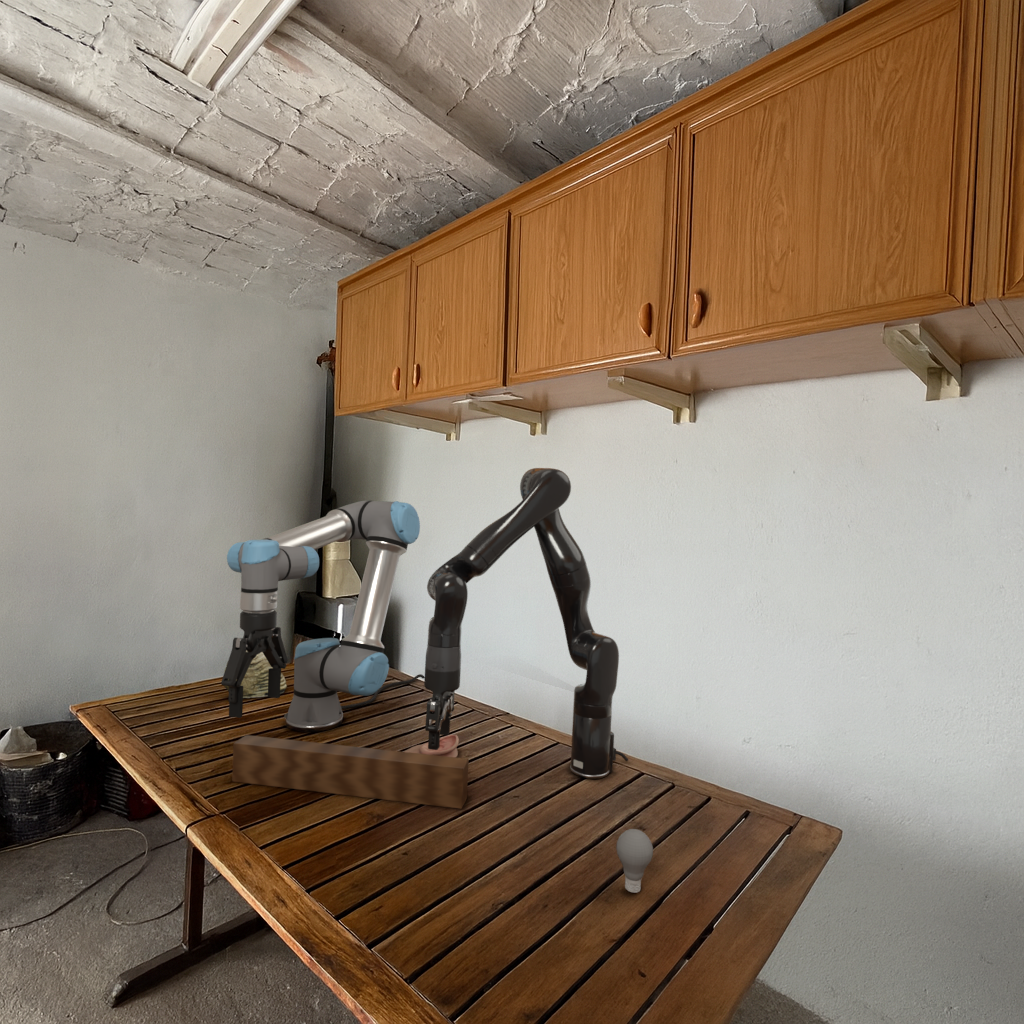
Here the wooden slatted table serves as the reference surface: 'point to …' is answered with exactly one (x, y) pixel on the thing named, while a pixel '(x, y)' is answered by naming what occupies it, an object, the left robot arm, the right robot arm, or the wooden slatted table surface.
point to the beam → (351, 771)
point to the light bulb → (634, 857)
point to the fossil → (258, 678)
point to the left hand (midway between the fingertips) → (255, 706)
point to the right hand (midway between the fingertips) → (439, 741)
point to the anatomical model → (445, 747)
